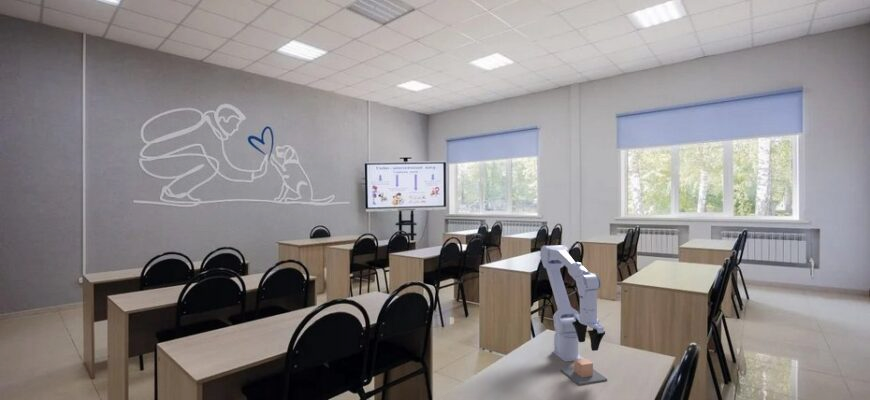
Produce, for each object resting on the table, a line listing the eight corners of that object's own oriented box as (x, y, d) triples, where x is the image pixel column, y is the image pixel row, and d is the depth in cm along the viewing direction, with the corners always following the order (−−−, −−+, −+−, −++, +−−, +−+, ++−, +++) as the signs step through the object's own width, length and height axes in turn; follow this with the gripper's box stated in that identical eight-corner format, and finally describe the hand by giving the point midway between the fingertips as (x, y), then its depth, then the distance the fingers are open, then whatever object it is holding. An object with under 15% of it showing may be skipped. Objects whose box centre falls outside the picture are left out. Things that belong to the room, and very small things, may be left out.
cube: (574, 371, 141) (574, 359, 141) (584, 369, 142) (585, 357, 142) (581, 377, 137) (581, 364, 137) (592, 375, 138) (592, 363, 138)
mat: (560, 370, 144) (560, 368, 144) (587, 366, 146) (587, 364, 146) (579, 385, 133) (579, 383, 133) (607, 380, 136) (607, 378, 136)
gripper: (611, 313, 135) (611, 352, 136) (585, 301, 149) (585, 337, 150) (593, 315, 134) (593, 355, 134) (568, 302, 148) (568, 339, 148)
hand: (588, 345), depth 142 cm, fingers open, 7 cm apart
